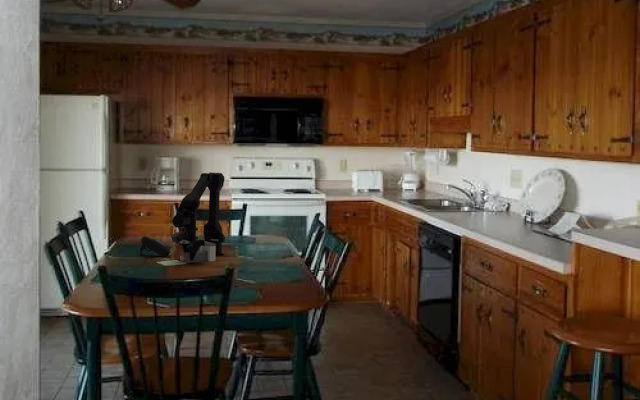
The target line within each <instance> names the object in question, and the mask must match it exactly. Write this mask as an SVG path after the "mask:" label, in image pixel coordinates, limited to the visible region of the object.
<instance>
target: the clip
mask: <svg viewBox="0 0 640 400" xmlns="http://www.w3.org/2000/svg"><path fill="white" fill-rule="evenodd" d="M204 241H205V240H204ZM199 251H208V261H207V262H209V263H210V262H216V256H217V255H216V244H214V243H210V242H207V241H205V246H201V247H199Z"/></svg>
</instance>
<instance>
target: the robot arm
mask: <svg viewBox="0 0 640 400" xmlns="http://www.w3.org/2000/svg"><path fill="white" fill-rule="evenodd" d="M225 179H226V177H225V175H224V173H222V172H211V171H210V172H202V173H201V174H200V176H199V179H198V180H197V182H196V184H195V185H194V187H193V189H192V190H191V191H190V192H189V193H188V194H186V195H184V197H183V198H182V199H181V201H180V204H179V206H178V209H177V211H176V212H175V215H174V216H173V217H172V220H171V221H172V225H173V227H175V228H177V229H179V228H180V231H178V232H175V233H173V234H171V235H170V238H171V241H172V242H173V243H175V244H178V245H179V246H180V247H181V248H182V251H183V253H187V252H190V260H193V259H194V257H195V255H196V253H197V252H198V251H199V250H200V247H201V246H205V241H207V242H210V243H214V244H216V256H220V255H224V253H223V251H222V250H223V247H222V246H223V243H224V242H226V241H225V240H226V236H225V235H224V232H223V229H222V225H221V223H220V221H219V218H220V217H219V216H220V198H221V197H220V195H221V193H220V192H221V191H222V189H223V187H224V184H225ZM207 188H208V190H209V197H208V198H209V199H208V218H207V219H208V220H207V222H206V223H204V225H203V233H202V234H203V239H202V238H199V237H198V236H197V231H199V230H198V229H199V228H198V227H197V216H198V215H199V213H198V211H197V210H198V209H199V208H200V204H201V197H202V196H203V194H204V193H205V191H206V189H207Z"/></svg>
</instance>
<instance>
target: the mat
mask: <svg viewBox="0 0 640 400" xmlns="http://www.w3.org/2000/svg"><path fill="white" fill-rule="evenodd" d="M155 263H156V264H159V265H162V266H164V267H168V266H170V267H171V266H179V265H187V263H184V262H181V260H177V259H175V260H174V259H173V260H162V261H156V262H155Z"/></svg>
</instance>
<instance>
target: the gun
mask: <svg viewBox="0 0 640 400" xmlns="http://www.w3.org/2000/svg"><path fill="white" fill-rule="evenodd" d="M140 242H141V246H140V250H139V255H140V256H141V257H143V256H144V251H145V250H146V251H147V252H154V253H155V254H157V255H158V256H160V257H162V258H164V259H165V258H168V257H172V253H171V250H170V248H169V247H167V246H166V245H165V244H164V243H162V242H160V241H159V240H157V239H154V238H151V237H148V236H142V237H141V239H140Z"/></svg>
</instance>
